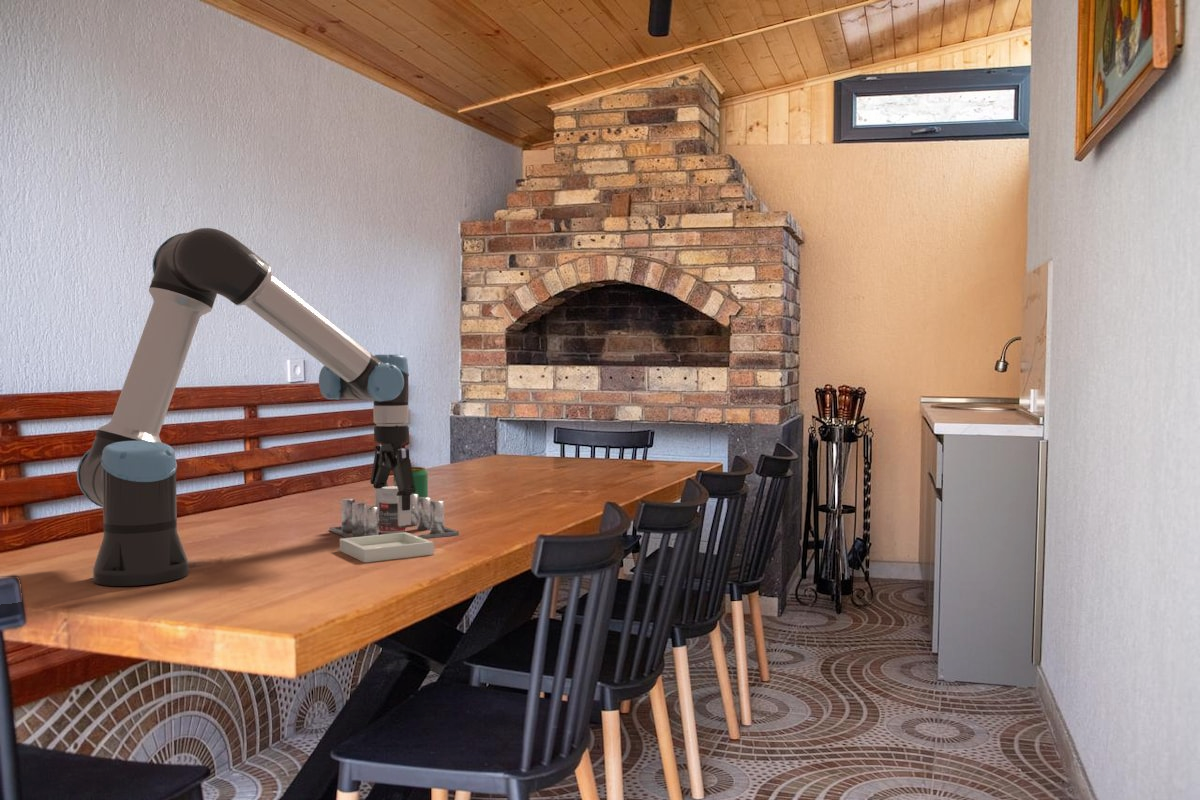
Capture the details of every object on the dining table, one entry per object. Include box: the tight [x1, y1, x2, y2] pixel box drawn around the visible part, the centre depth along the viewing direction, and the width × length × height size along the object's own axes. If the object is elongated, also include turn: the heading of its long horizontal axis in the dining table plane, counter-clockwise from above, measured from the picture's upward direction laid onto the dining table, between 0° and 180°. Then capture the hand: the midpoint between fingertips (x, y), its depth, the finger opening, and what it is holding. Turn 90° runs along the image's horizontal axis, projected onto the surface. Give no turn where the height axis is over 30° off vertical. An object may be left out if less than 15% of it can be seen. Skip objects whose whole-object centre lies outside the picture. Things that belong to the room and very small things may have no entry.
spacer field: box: [329, 494, 460, 539], centre depth 222 cm, size 22×22×7 cm
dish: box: [339, 531, 435, 563], centre depth 198 cm, size 14×14×2 cm
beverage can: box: [393, 466, 429, 497], centre depth 242 cm, size 8×8×12 cm
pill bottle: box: [378, 485, 407, 534], centre depth 222 cm, size 6×6×10 cm
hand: (392, 521), depth 222 cm, fingers open, 13 cm apart
